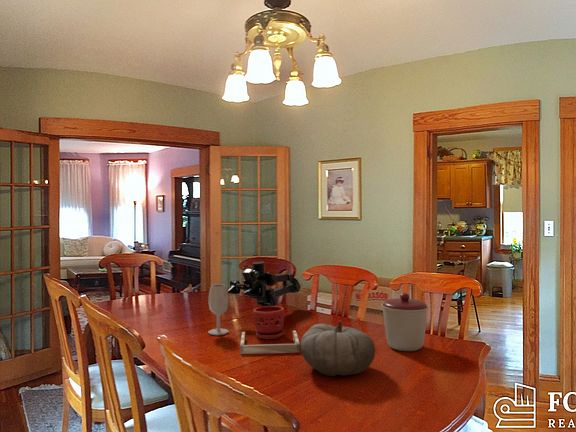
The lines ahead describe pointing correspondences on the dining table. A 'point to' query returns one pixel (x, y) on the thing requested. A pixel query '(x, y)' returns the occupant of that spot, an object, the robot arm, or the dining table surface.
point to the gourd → (337, 349)
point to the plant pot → (269, 321)
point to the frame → (270, 347)
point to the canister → (405, 322)
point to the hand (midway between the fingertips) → (236, 293)
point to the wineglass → (218, 305)
